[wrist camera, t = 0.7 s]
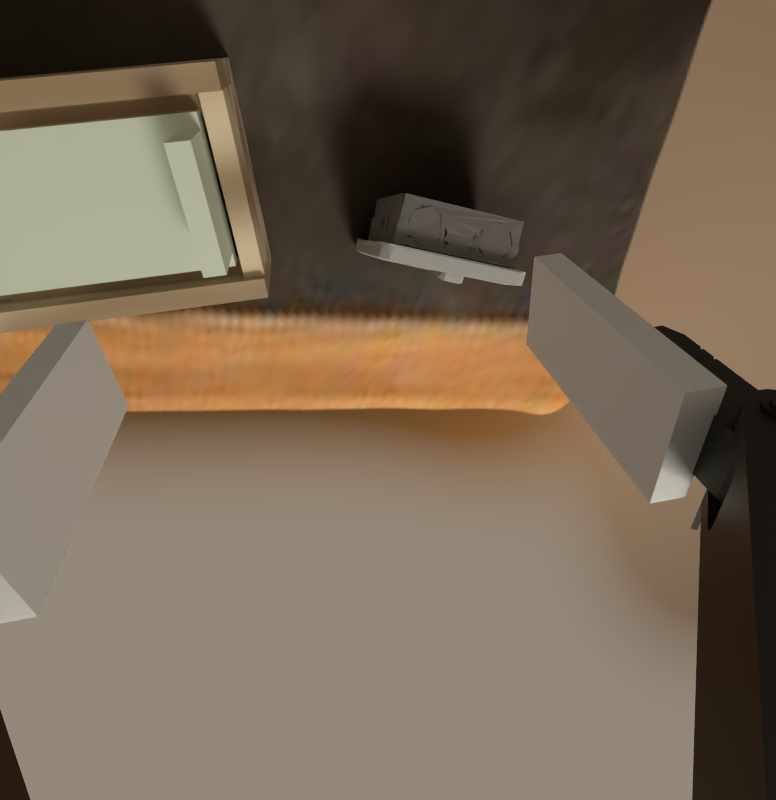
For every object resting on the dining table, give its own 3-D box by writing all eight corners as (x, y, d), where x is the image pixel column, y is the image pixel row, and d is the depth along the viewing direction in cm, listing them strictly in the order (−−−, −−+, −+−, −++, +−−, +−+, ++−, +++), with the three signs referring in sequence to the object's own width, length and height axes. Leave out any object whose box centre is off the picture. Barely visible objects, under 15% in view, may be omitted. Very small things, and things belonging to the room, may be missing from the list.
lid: (-92, 138, 25) (-156, 155, 21) (199, 109, 26) (184, 120, 23) (-6, 290, 30) (-47, 325, 26) (237, 260, 31) (230, 289, 27)
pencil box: (-64, 83, 28) (-152, 94, 23) (228, 57, 30) (214, 61, 24) (38, 287, 35) (-9, 334, 30) (271, 257, 37) (268, 297, 31)
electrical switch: (352, 248, 37) (373, 287, 29) (368, 173, 35) (394, 193, 27) (469, 272, 40) (517, 314, 32) (490, 204, 38) (547, 230, 30)
